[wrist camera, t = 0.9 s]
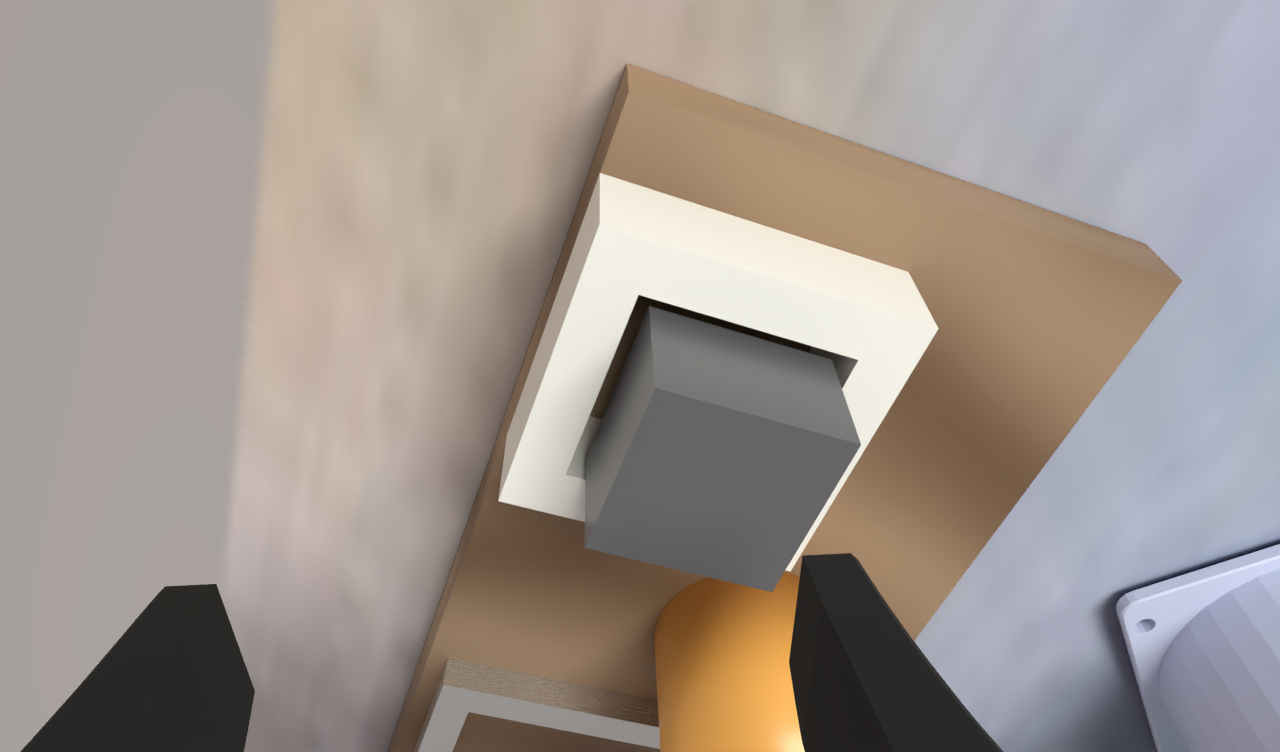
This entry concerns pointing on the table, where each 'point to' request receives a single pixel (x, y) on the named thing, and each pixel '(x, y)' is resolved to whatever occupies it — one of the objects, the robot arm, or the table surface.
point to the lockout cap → (727, 668)
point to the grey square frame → (533, 706)
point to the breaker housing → (715, 286)
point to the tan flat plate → (917, 420)
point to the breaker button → (715, 452)
